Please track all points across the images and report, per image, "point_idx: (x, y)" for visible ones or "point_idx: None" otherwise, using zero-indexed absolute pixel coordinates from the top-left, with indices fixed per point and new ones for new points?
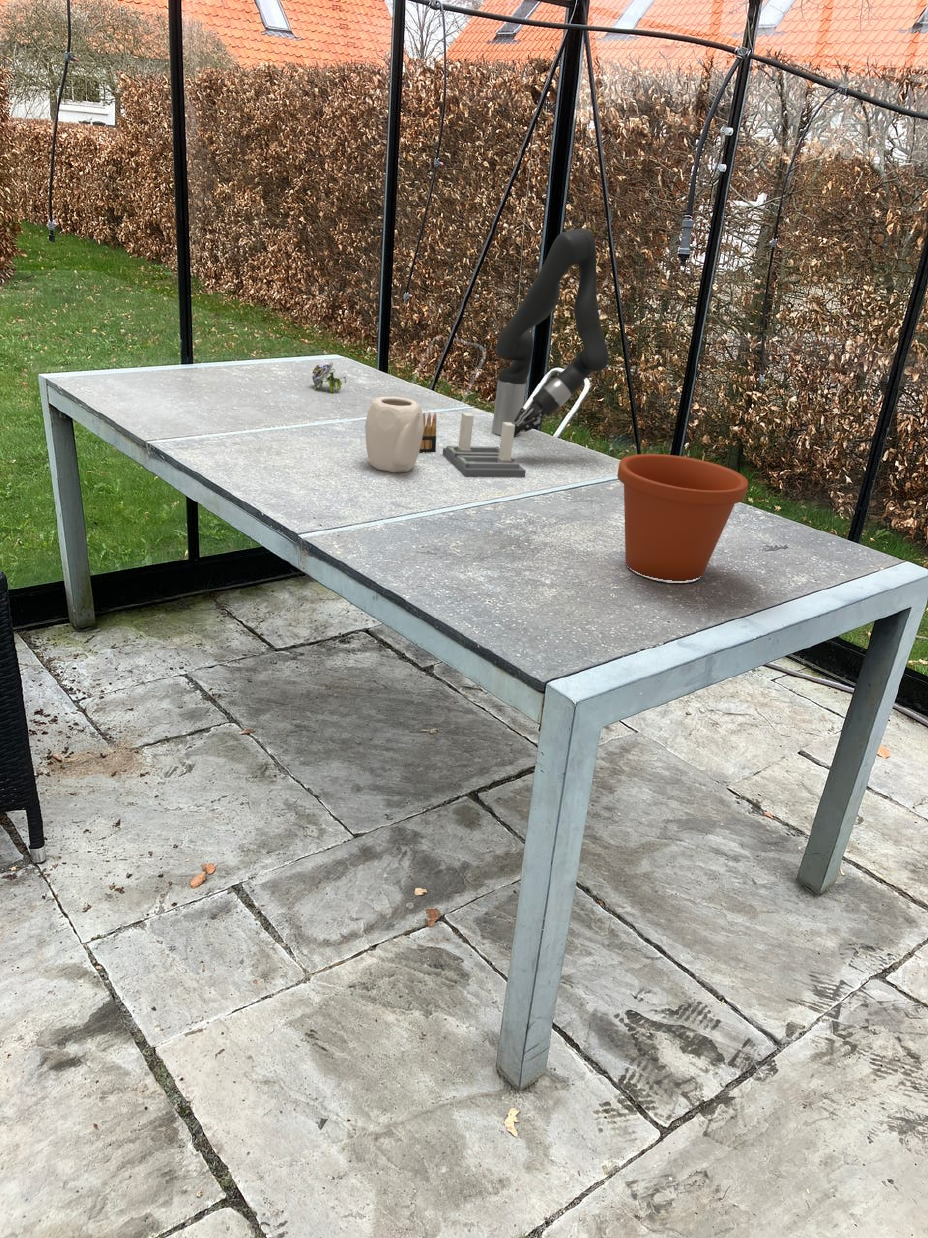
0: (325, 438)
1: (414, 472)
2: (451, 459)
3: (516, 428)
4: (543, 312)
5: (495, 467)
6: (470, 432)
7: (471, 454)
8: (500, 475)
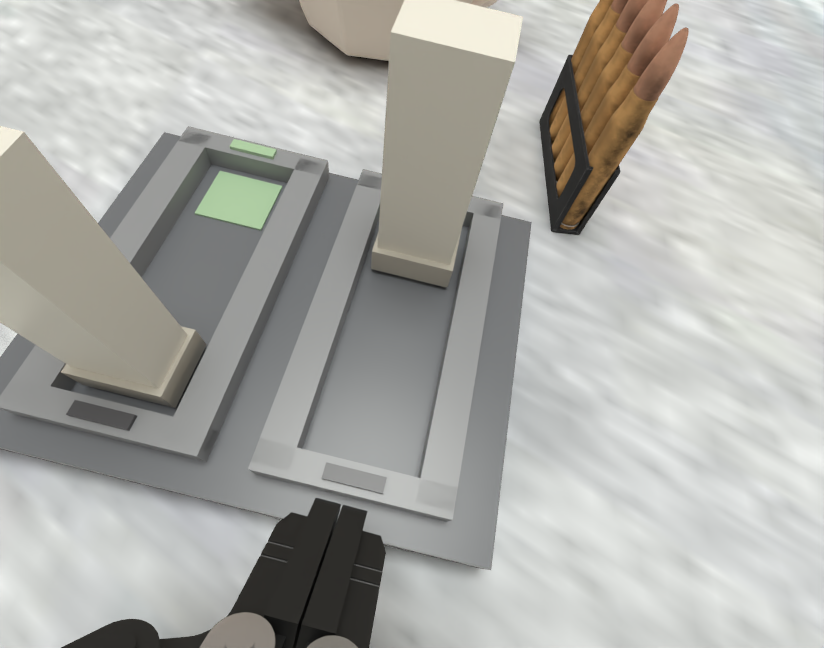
0: (708, 22)
1: (307, 48)
2: None
3: (254, 604)
4: None
5: None
6: (385, 158)
7: (335, 244)
8: None
